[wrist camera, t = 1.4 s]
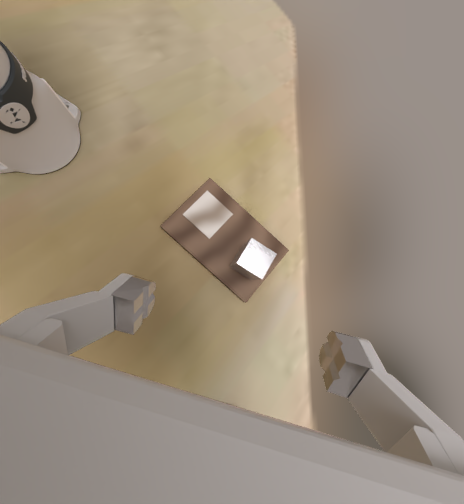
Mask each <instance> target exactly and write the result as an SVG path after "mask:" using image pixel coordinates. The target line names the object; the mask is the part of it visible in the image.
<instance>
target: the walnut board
mask: <svg viewBox="0 0 464 504" xmlns="http://www.w3.org/2000/svg"><path fill="white" fill-rule="evenodd" d="M161 228H162V229H163V230H164V231H166V232H167V233H168V234H169V235H170V236H171V237H172V238H173V239H174V240H176V241H177V242H178V243H179V244H180V245H181V246H182V247H183V248H184V249H186V250H187V251H188V252H189V253H190V254H191V255H192V256H193V257H194V258H196V259H197V260H198V261H199V262H200V263H201V264H202V265H203V266H204V267H206V268H207V269H208V270H209V271H210V272H211V273H212V274H213V275H214V276H216V277H217V278H218V279H219V280H220V281H221V282H222V283H223V284H224V285H226V286H227V287H228V288H229V289H230V290H231V291H232V292H233V293H234V294H236V295H237V296H238V297H239V298H240V299H241V300H242V301H243V302H245V303H246V302H247V301H248V299H249V298H250V297H251V296H252V295H253V293H254V292H255V291H256V290H257V288H258V287H259V286H260V285H261V284H262V282H263V281H264V280H265V279H266V277H267V276H268V275H269V274H270V273H271V271H272V270H273V269H274V268H275V266H276V265H277V264H278V263H279V262H280V260H281V259H282V258H283V257H284V255H285V254H286V253H287V252H288V251H289V250H288V249H287V248H286V247H285V246H284V245H283V244H281V243H280V242H279V241H278V240H277V239H276V238H275V237H274V236H273V235H272V234H271V233H269V232H268V231H267V230H266V229H265V228H264V227H263V226H262V225H261V224H260V223H259V222H257V221H256V220H255V219H254V218H253V217H252V216H251V215H250V214H249V213H248V212H247V211H246V210H244V209H243V208H242V207H241V206H240V205H239V204H238V203H237V202H236V201H235V200H234V199H232V198H231V197H230V196H229V195H228V194H227V193H226V192H225V191H224V190H223V189H222V188H221V187H219V186H218V185H217V184H216V183H215V182H214V181H213V180H212V179H211V178H209V179H208V180H207V181H206V182H205V183H204V184H203V185H202V186H201V187H200V188H199V189H198V190H197V191H196V192H195V193H194V194H193V195H192V196H191V197H190V198H189V199H187V200H186V201H185V202H184V203H183V204H182V205H181V206H180V207H179V208H178V209H177V210H176V211H175V212H174V213H173V214H172V215H171V216H170V217H169V218H168V219H167V220H166V221H165V222H164V223H163V224H162V225H161ZM251 238H253V239H255V240H256V241H258V242H259V243H261V244H262V245H264V246H265V247H267V248H269V249H270V250H272V251H273V252H275V253H276V256H275V258H274V260H273V261H272V263H271V265H270V267H269V269H268V270H267V272H266V274H265V276H264V277H263V279H261V280H250V279H248V278H247V277H245V276H244V275H242V274H240V273H239V272H237V271H236V270H234V269H232V268H231V267H229V266H230V265H231V263H232V261H233V260H234V258H235V256H236V255H237V253H238V251H239V250H240V248H241V246H242V245H243V244H245V243H246V242H247V241H248V240H250V239H251Z"/></svg>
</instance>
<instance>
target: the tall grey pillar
mask: <svg viewBox="0 0 464 504" xmlns="http://www.w3.org/2000/svg"><path fill="white" fill-rule="evenodd" d="M275 256H276V253H275V252H273V251H272V250H270V249H269V248H267V247H265V246H264V245H262V244H261V243H259V242H258V241H256V240H255V239H253V238H251V239H250V240H248V241H247V242H246V243H245V244H243V245H242V246H241V248H240V250H239V251H238V253H237V255H236V256H235V258H234V260H233V261H232V263H231V265H230V266H229V267H231V268H232V269H234V270H236V271H237V272H239V273H240V274H242V275H244V276H245V277H247V278H248V279H250V280H261V279H263V277H264V276H265V274H266V272H267V270H268V269H269V267H270V265H271V263H272V261H273V260H274V258H275Z"/></svg>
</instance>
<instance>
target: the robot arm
mask: <svg viewBox="0 0 464 504" xmlns="http://www.w3.org/2000/svg"><path fill="white" fill-rule="evenodd" d="M80 117H81V112H80V110H79V109H78V108H77V106H76V105H74V104H72V103H71V102H69V101H68V100H66V99H64V98H63V97H61V96H60V95H58V94H57V93H55V92H54V90H53V89H52V88H51V87H50V85H49V84H48V83H47V82H46V81H45V80H44V79H43V78H39V77H38V76H36V75H35V74H33V73H31V72H29V71H28V70H26V69H24V68H23V66H22V64H21V63H20V61H19V60H18V59H17V58H16V57H15V55H14V54H13V53H12V52H10V51H9V50H8V48H7V47H6V46H5V45H4V44H3V43H2V42H1V41H0V173H7V172H14V171H17V172H24V173H29V174H44V173H49V172H53V171H56V170H58V169H60V168H62V167H64V166H65V165H66V164H68V163H69V162H70V161H71V160H72V159H73V158H74V156H75V155H76V153H77V151H78V149H79V146H80V132H79V127H78V124H79V121H80ZM155 289H156V283H155V282H154V281H150V280H147V279H144V278H140V277H137V276H133V275H130V274H126V273H122V274H120V275H119V276H118V277H116V278H115V279H114V280H112V281H111V282H110V283H108V284H107V285H106V286H105V287H103V288H102V289H101V290H99V291H98V292H97V291H92V292H88V293H84V294H81V295H77V296H73V297H69V298H65V299H62V300H58V301H54V302H50V303H47V304H43V305H39V306H35V307H31V308H28V309H25V310H23V311H22V312H20V313H18V314H17V315H15V316H14V317H12V318H10V319H9V320H7V321H6V322H4V323H2V324H1V325H0V504H464V441H463V439H462V438H461V437H460V436H459V435H458V434H457V433H455V432H454V431H453V430H452V429H451V428H450V427H449V426H448V425H446V424H445V423H444V422H443V421H442V420H441V419H440V418H439V417H438V416H437V415H435V414H434V413H433V412H432V411H431V410H430V409H429V408H428V407H427V406H425V405H424V404H423V403H422V402H421V401H420V400H419V399H418V398H416V396H414V395H413V394H412V393H411V392H410V391H409V390H408V389H407V388H405V387H404V386H403V385H402V384H401V383H400V382H399V381H398V380H397V379H396V378H394V377H393V376H392V375H390V374H387V372H386V371H385V368H384V366H383V365H382V363H381V361H380V359H379V357H378V355H377V354H376V352H375V350H374V348H373V346H372V345H371V343H370V342H369V341H368V340H366V339H362V338H358V337H353V336H349V335H346V334H342V333H338V332H334V331H331V332H330V333H329V334H328V336H327V339H328V342H327V343H325V344H323V346H322V347H321V349H320V354H319V361H320V366H321V367H322V369H323V370H324V371H325V373H324V375H323V378H324V382H325V386H326V390H327V392H330V393H333V394H337V395H340V396H343V397H346V398H348V401H349V402H350V403H351V405H352V406H353V408H354V409H355V410H356V412H357V413H358V415H359V416H360V417H361V419H362V420H363V422H364V423H365V425H366V426H367V427H368V429H369V430H370V432H371V433H372V435H373V436H374V437H375V439H376V440H377V442H378V443H379V445H380V446H381V448H382V449H383V450H384V451H381V450H378V449H375V448H371V447H368V446H364V445H361V444H358V443H355V442H352V441H348V440H345V439H342V438H338V437H335V436H332V435H328V434H325V433H322V432H319V431H316V430H312V429H309V428H306V427H302V426H299V425H296V424H292V423H289V422H286V421H283V420H279V419H276V418H273V417H269V416H266V415H263V414H260V413H256V412H253V411H250V410H246V409H243V408H240V407H237V406H233V405H230V404H227V403H224V402H220V401H217V400H214V399H210V398H207V397H204V396H201V395H197V394H194V393H191V392H187V391H184V390H181V389H178V388H174V387H171V386H168V385H165V384H161V383H158V382H155V381H151V380H148V379H145V378H142V377H138V376H135V375H132V374H128V373H125V372H122V371H119V370H115V369H112V368H109V367H105V366H102V365H99V364H96V363H92V362H89V361H86V360H82V359H79V358H76V357H73V356H69V355H70V354H72V353H74V352H76V351H77V350H79V349H81V348H83V347H85V346H87V345H89V344H91V343H93V342H94V341H96V340H98V339H100V338H102V337H104V336H106V335H108V334H110V333H111V332H113V331H114V330H117V331H121V332H125V333H129V334H133V335H134V334H135V332H136V331H137V330H138V328H139V327H140V326H141V325H142V319H143V318H146V317H148V315H149V314H150V313H151V311H152V308H153V306H154V302H155V296H154V295H153V292H154V291H155Z"/></svg>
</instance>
